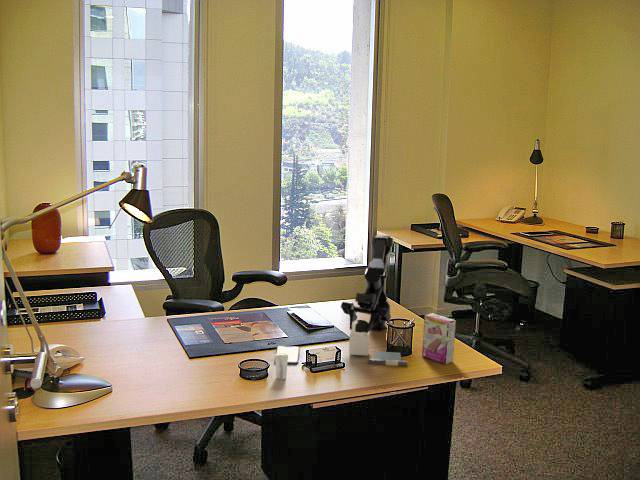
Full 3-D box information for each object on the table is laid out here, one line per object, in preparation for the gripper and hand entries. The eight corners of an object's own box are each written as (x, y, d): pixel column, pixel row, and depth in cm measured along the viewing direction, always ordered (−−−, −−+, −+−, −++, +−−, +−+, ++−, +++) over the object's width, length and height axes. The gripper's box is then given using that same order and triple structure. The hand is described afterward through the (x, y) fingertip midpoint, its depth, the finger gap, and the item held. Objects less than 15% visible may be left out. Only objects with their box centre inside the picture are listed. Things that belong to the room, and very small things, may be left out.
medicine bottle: (368, 349, 268) (370, 318, 265) (368, 355, 261) (369, 325, 258) (350, 347, 268) (351, 317, 266) (348, 354, 262) (350, 323, 259)
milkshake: (272, 375, 243) (272, 347, 241) (287, 375, 243) (288, 347, 241) (272, 380, 238) (272, 352, 236) (288, 380, 239) (288, 352, 237)
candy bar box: (421, 356, 265) (423, 315, 261) (429, 353, 268) (431, 312, 265) (445, 365, 257) (448, 322, 253) (453, 362, 260) (456, 319, 257)
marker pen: (368, 362, 258) (368, 357, 257) (406, 364, 256) (407, 359, 256) (368, 363, 256) (368, 359, 255) (407, 366, 255) (407, 361, 254)
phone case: (298, 366, 253) (299, 350, 269) (298, 362, 253) (300, 346, 268) (273, 366, 253) (276, 349, 269) (273, 361, 253) (276, 345, 268)
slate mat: (374, 351, 268) (375, 351, 268) (400, 353, 267) (400, 352, 267) (374, 361, 259) (374, 360, 259) (400, 362, 258) (400, 361, 258)
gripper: (343, 280, 267) (329, 316, 260) (389, 288, 258) (375, 325, 251) (351, 295, 276) (338, 330, 268) (396, 303, 267) (383, 339, 260)
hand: (358, 331), depth 262 cm, fingers closed on medicine bottle, 6 cm apart
